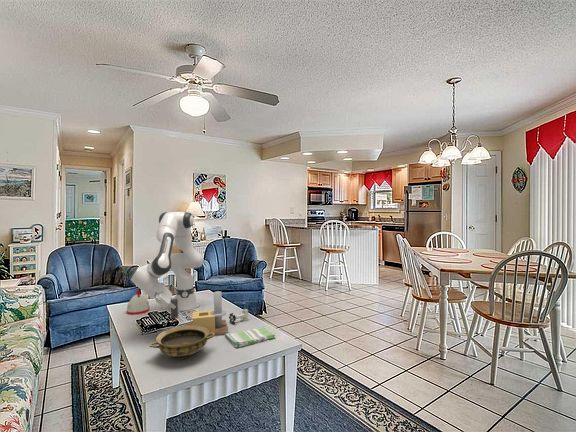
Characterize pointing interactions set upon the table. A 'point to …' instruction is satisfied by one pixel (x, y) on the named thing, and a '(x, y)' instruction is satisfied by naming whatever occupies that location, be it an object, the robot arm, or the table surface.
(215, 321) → the square hole block
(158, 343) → the ceramic bowl
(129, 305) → the kitchen timer
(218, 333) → the base board
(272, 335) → the dish towel
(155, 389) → the table surface
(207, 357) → the table surface
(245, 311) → the valve
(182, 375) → the table surface
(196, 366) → the table surface
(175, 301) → the square peg
